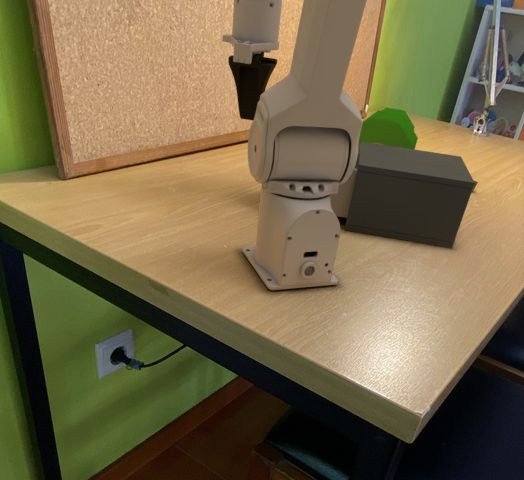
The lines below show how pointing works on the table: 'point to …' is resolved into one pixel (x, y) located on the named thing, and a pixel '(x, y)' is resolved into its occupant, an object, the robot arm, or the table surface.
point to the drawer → (344, 195)
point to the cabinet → (409, 194)
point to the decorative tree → (389, 129)
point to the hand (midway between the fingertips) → (248, 118)
